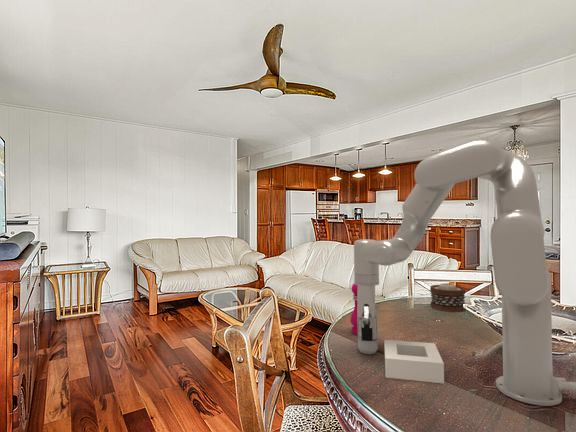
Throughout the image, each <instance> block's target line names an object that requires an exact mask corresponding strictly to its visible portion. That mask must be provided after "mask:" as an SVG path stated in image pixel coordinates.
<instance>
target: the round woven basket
mask: <svg viewBox="0 0 576 432" xmlns="http://www.w3.org/2000/svg"><path fill="white" fill-rule="evenodd" d="M465 294H466V288H465V287H463V286H460V285H456V284H453V283H440V284H433V285H431V286H430V297H431V298H430V299H431V301H430V308H431V309H433V310H435V311H439V312H444V313H463V312H465V311H466V309H464V308H463V304H465V305H466V296H465Z"/></svg>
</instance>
